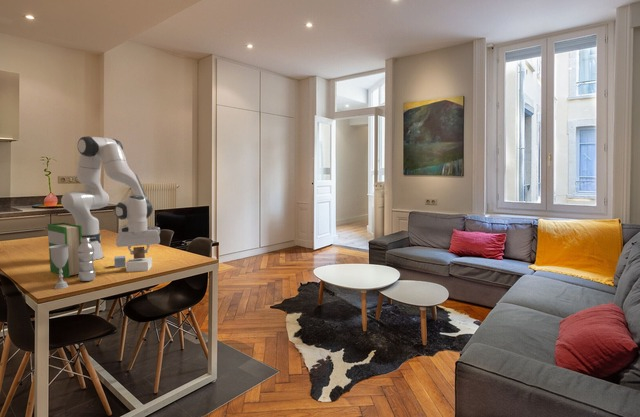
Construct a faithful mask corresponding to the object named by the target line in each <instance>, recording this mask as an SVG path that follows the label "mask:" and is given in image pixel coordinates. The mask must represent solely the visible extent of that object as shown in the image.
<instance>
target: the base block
mask: <svg viewBox="0 0 640 417" xmlns="http://www.w3.org/2000/svg"><path fill="white" fill-rule="evenodd" d="M125 262H126V267H125V269H126V273H131V272H133V273H134V271H135V272H149V270H150V269H151V268H152V267H153V257H151V256H150V257H145V258H140V259H134V257H131V258H129V260H127V261H125Z"/></svg>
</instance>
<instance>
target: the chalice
mask: <svg viewBox="0 0 640 417" xmlns="http://www.w3.org/2000/svg"><path fill="white" fill-rule="evenodd" d="M68 247H69V245H55V246H50V247H49V246H48V249H49V248H50V251H51V259H52V261H53V263H54V264H55V266H56V267H58V268H59V274H60V275H58V276H57V277H58V278H59V281H58V282H56V284H55V287H54V289H55V290H62V289H67V288H68V287H69V285H68V283H67V281H65V280H64V279H63V278H64V277H63V275H62V272H63V271H62V267H64V266H65V264H66V262H67V260H68V257H69V256H68Z"/></svg>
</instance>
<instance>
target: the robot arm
mask: <svg viewBox="0 0 640 417" xmlns="http://www.w3.org/2000/svg"><path fill="white" fill-rule="evenodd" d="M77 150H78V152H79V153H80V154H79V157H78V163H77V174H76V179H77V181H78V182H79V183H80V184H83V185H84V190H72V191H69V192H65V193H64V194H63V195H62V197H61V199H60V200H61V201H60V202H61V206H62V207H63V208H64V209H65V210H66V211H68V212H69V213H70V214H71V215H72V217H73V218H74V221H75V222H74V223H75V225H80V226H81V227H82V238H83V237H90V243H91V244H92V245H93V247H94V256H93V261H95V260H100V259H102V258H104V257H105V256H104V253H103V250H102V245H101V241H102V240H101V238H102V237H101V232H100V221H99V219H98V218H97V217H95V216H93V214H92V213H91V211H90V210H99V209H103V208H105V207H107V206H108V205H109V203H110V195H109V194H108V192H107V191H105V189H104V188H103V187H102V186H103V185H102V183H101V182H102V181H101V176H102V173H101V172H102V164H103V168H104V169H103V170H104V171H105V174H106V176H107V177H108V178H109V179H111V180H113V181H115V182H119V183H122V184H125V185H127V186H128V187H129V188H130V189H131V191H132V193H133V195H130V196H128V198H127V199H125V200H123V201H121V202H118V203H117V204H116V205H115V208H114V214H115V216H116V217H117V218H118V219H119V220H122V221H127V224H125V225H121V226H119V227H118V233H117V235H116V243H115V245H116V247H117V248H122V247H123V248H124V247H127V249H128V251H129V252H130V254H129V255H133V256H134V251H133V250H132V249H131V248H132V247H139V246H146V248H145V249H144V251H145V254H148V253H149V252H148V250H149V249H150V246H152V245H159V244H160V243H161V238H160V234H161V228H160V227H158V226H156V225H155V226H148V218H150V217H151V215H152V214H153V211H154V209H153V205H152V203H151V202H150V200H149V199H148V196H147V195H146V193H145V190H144V188H143V185H142V184H141V181H140V179H139V177H138V175H137V174H136V173H135V172H133V170H132V169H131V168H130V167H129V164H128V161H127V158H126V154H125V153H124V147H123V144H122V142H121V141H120V140H118V139H116V138H110V137H109V138H108V137H103V136H100V137H99V136H90V135H89V136H82V137H80V138H79V139H78V142H77Z"/></svg>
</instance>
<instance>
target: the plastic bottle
mask: <svg viewBox="0 0 640 417" xmlns="http://www.w3.org/2000/svg"><path fill="white" fill-rule="evenodd" d="M80 242H81V244H80V246H79V247H78V250H77V251H78V256H79V261H80V262H79V263H80V266H79V274H77V275H78V280H79V281H81V282H90V281H93V280H95V278H96V271H95V266H94V260H93V256H94V247H93V245H92V244H91V243H90V237H83V238H80Z"/></svg>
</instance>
